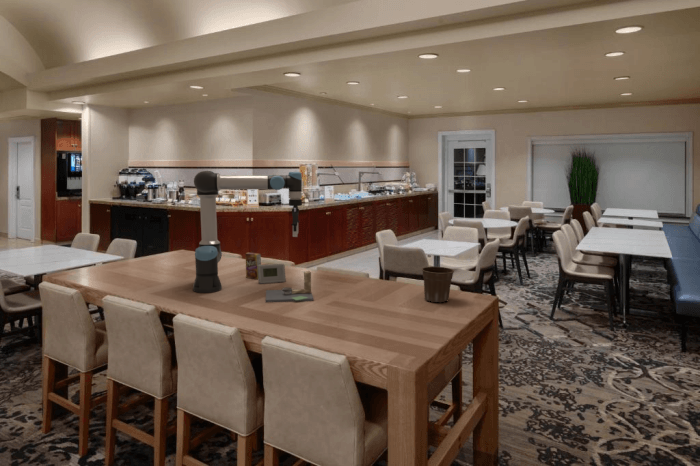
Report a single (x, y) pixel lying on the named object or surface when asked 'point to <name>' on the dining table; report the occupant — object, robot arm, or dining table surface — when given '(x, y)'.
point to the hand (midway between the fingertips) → (295, 235)
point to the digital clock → (271, 273)
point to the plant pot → (437, 283)
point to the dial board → (287, 296)
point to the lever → (306, 285)
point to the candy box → (252, 265)
